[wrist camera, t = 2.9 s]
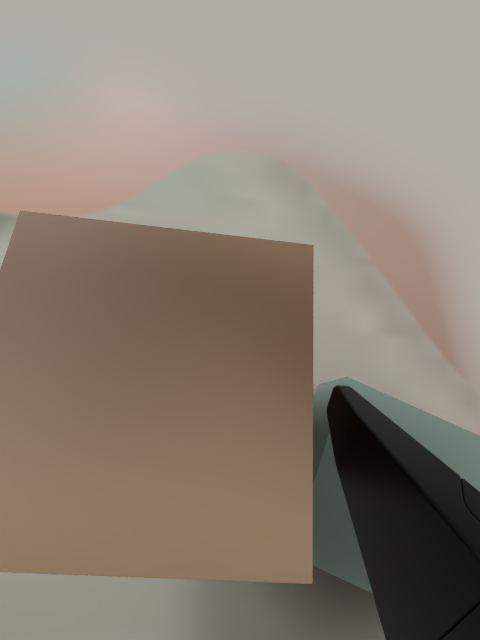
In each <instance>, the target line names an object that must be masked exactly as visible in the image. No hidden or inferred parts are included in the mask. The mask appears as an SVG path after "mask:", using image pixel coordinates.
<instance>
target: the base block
mask: <svg viewBox="0 0 480 640" xmlns="http://www.w3.org/2000/svg"><path fill="white" fill-rule="evenodd" d="M336 385H345V386H350V387H351V388H353V389H354V390H355V391H356V392H358V393H359V394H360V395H361V396H362V397H364V398H365V399H366V400H367V401H369V402H370V403H371V404H372V405H374V406H375V407H376V408H377V409H378V410H380V411H381V412H382V413H383V414H385V415H386V416H387V417H388V418H390V419H391V420H392V421H393V422H394V423H396V424H397V425H398V426H399V427H401V428H402V429H403V430H404V431H406V432H407V433H408V434H409V435H410V436H412V437H413V438H414V439H415V440H417V441H418V442H419V443H420V444H422V445H423V446H424V447H425V448H427V449H428V450H429V451H430V452H431V453H433V454H434V455H435V456H436V457H438V458H439V459H440V460H441V461H443V462H444V463H445V464H446V465H447V466H449V467H450V468H451V469H452V470H454V471H455V472H456V473H457V474H459V475H460V478H463V479H465V480H466V481H467V482H468V483H470V484H471V485H472V486H473V487H475V488H476V489H477V490H478V491H480V436H478V435H476V434H474V433H472V432H470V431H467V430H465V429H463V428H461V427H458V426H456V425H454V424H452V423H449V422H447V421H445V420H443V419H440V418H438V417H436V416H434V415H431V414H429V413H427V412H425V411H422V410H420V409H418V408H416V407H413V406H411V405H409V404H407V403H404V402H402V401H400V400H398V399H395V398H393V397H391V396H389V395H386V394H384V393H382V392H380V391H377V390H375V389H373V388H371V387H368V386H366V385H364V384H362V383H360V382H357V381H355V380H353V379H351V378H348V377H345V378H342V379H338V380H334V381H331V382H327V383H324V384H320V385H318V386H317V389H316V392H315V395H314V398H313V566H314V567H316V568H319V569H321V570H323V571H325V572H327V573H329V574H331V575H334V576H336V577H338V578H340V579H342V580H344V581H346V582H348V583H351V584H353V585H355V586H357V587H359V588H361V589H363V590H366V591H368V592H370V593H372V589H371V586H370V582H369V579H368V575H367V572H366V569H365V565H364V562H363V558H362V555H361V551H360V548H359V544H358V541H357V537H356V534H355V530H354V527H353V523H352V520H351V516H350V513H349V509H348V506H347V502H346V499H345V495H344V492H343V489H342V485H341V482H340V478H339V475H338V471H337V467H336V463H335V458H334V453H333V447H332V441H331V435H330V430H329V424H328V418H327V405H328V402H329V399H330V396H331V393H332V390H333V388H334V386H336ZM372 594H373V593H372Z"/></svg>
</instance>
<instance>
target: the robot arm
mask: <svg viewBox="0 0 480 640" xmlns="http://www.w3.org/2000/svg"><path fill="white" fill-rule="evenodd" d="M327 418H328V424H329V430H330V435H331V441H332V447H333V453H334V458H335V463H336V467H337V471H338V475H339V478H340V482H341V485H342V489H343V492H344V495H345V499H346V502H347V506H348V509H349V513H350V516H351V520H352V523H353V527H354V530H355V534H356V537H357V541H358V544H359V548H360V551H361V555H362V558H363V562H364V565H365V569H366V572H367V575H368V579H369V582H370V586H371V589H372V593H373V596H374V600H375V603H376V607H377V610H378V614H379V617H380V621H381V624H382V628H383V631H384V635H385V638H386V640H480V491H478V490H477V489H476V488H475V487H473V486H472V485H471V484H470V483H468V482H467V481H466V480H465V479H463V478H460V475H459V474H457V473H456V472H455V471H454V470H452V469H451V468H450V467H449V466H447V465H446V464H445V463H444V462H443V461H441V460H440V459H439V458H438V457H436V456H435V455H434V454H433V453H431V452H430V451H429V450H428V449H427V448H425V447H424V446H423V445H422V444H420V443H419V442H418V441H417V440H415V439H414V438H413V437H412V436H410V435H409V434H408V433H407V432H406V431H404V430H403V429H402V428H401V427H399V426H398V425H397V424H396V423H394V422H393V421H392V420H391V419H390V418H388V417H387V416H386V415H385V414H383V413H382V412H381V411H380V410H378V409H377V408H376V407H375V406H374V405H372V404H371V403H370V402H369V401H367V400H366V399H365V398H364V397H362V396H361V395H360V394H359V393H358V392H356V391H355V390H354V389H353V388H351V387H350V386H345V385H336V386H334V388H333V390H332V393H331V396H330V399H329V402H328V405H327Z"/></svg>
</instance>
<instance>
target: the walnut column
mask: <svg viewBox="0 0 480 640" xmlns="http://www.w3.org/2000/svg"><path fill="white" fill-rule="evenodd" d="M0 572H15V573H40V574H66V575H92V576H118V577H144V578H170V579H196V580H222V581H248V582H274V583H299V584H313V245H307V244H299V243H290V242H282V241H273V240H265V239H256V238H248V237H239V236H231V235H222V234H214V233H205V232H197V231H188V230H180V229H171V228H163V227H154V226H146V225H137V224H129V223H120V222H112V221H103V220H95V219H86V218H78V217H69V216H61V215H52V214H44V213H35V212H27V211H20V213H19V216H18V219H17V222H16V225H15V228H14V231H13V234H12V237H11V240H10V243H9V246H8V249H7V252H6V255H5V258H4V261H3V263H2V266H1V269H0Z"/></svg>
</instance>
